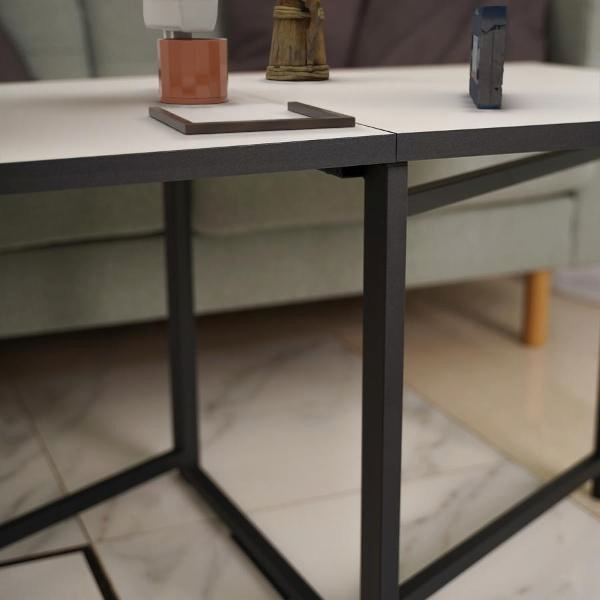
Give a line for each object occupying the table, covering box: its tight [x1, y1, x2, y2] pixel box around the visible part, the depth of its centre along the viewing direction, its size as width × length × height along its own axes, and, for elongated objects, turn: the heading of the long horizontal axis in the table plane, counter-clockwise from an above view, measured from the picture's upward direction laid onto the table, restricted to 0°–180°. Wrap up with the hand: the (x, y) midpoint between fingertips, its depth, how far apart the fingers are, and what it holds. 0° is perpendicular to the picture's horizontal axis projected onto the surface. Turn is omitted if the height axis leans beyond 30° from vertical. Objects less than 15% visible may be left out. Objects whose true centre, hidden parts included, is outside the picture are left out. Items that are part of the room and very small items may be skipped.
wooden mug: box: [264, 0, 330, 82], centre depth 125 cm, size 9×14×18 cm, turn 22°
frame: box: [147, 101, 356, 135], centre depth 82 cm, size 15×14×1 cm
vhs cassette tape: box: [468, 5, 508, 110], centre depth 99 cm, size 18×3×10 cm, turn 171°
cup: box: [156, 37, 230, 105], centre depth 99 cm, size 7×7×6 cm
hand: (178, 72), depth 104 cm, fingers closed
